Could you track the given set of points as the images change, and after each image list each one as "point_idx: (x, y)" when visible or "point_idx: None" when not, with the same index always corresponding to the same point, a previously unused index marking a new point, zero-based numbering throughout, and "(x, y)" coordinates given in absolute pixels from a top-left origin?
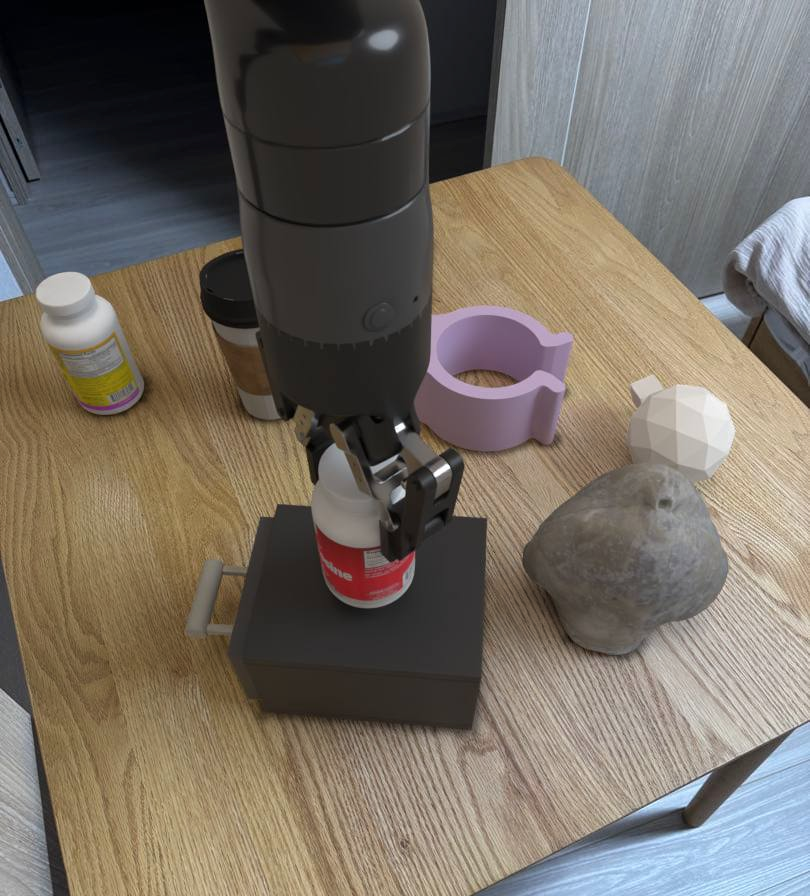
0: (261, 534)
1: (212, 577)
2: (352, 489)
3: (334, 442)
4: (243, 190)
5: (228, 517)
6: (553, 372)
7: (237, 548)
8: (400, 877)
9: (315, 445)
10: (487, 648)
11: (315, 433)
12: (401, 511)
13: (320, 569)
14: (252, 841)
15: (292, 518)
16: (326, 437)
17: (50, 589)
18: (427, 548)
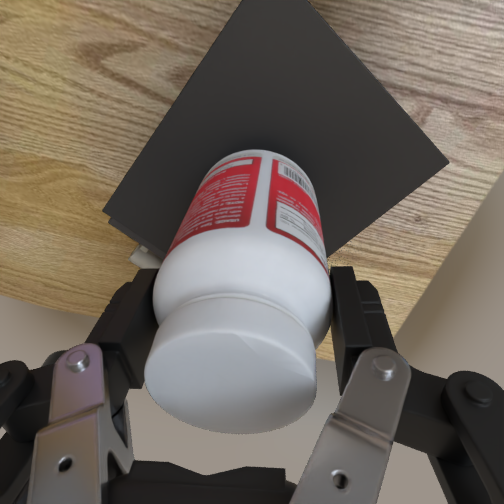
0: (132, 233)
1: (150, 265)
2: (267, 416)
3: (129, 350)
4: None
5: (65, 175)
6: None
7: (104, 185)
8: (431, 234)
9: (129, 387)
10: (349, 34)
11: (130, 451)
12: (399, 440)
13: None
14: None
15: (129, 209)
16: (119, 373)
17: (90, 301)
18: (259, 97)
